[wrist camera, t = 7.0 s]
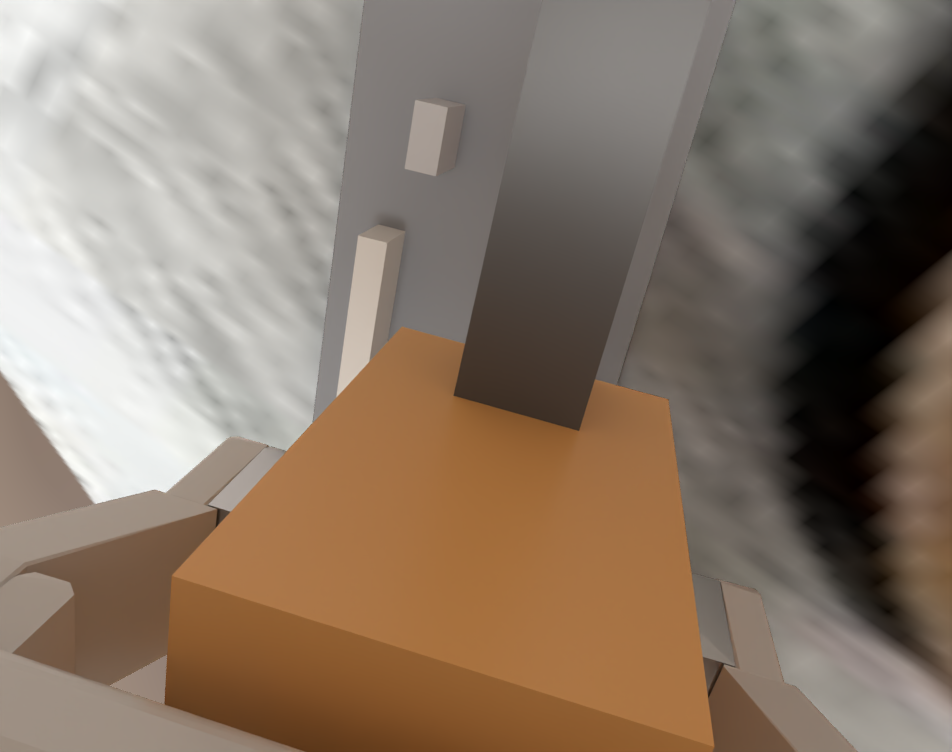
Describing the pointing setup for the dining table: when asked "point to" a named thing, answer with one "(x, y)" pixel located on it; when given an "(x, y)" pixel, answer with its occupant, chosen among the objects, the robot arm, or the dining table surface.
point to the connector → (484, 477)
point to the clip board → (454, 175)
